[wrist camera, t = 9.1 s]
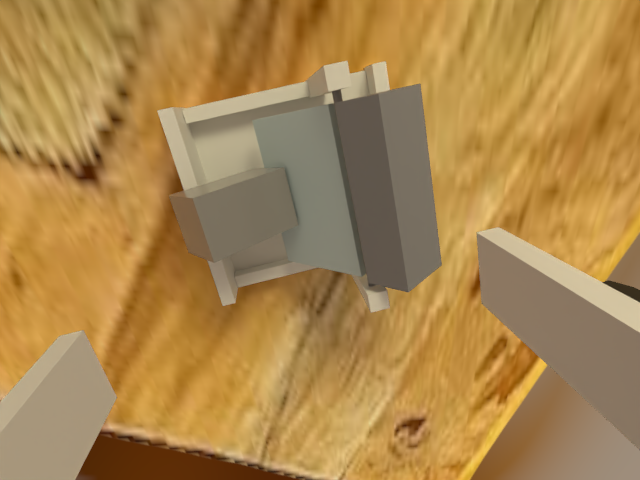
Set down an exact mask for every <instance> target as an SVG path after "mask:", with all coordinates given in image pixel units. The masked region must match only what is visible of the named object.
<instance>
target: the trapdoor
mask: <svg viewBox="0 0 640 480" xmlns="http://www.w3.org/2000/svg"><path fill="white" fill-rule="evenodd" d="M335 107H336V111H335ZM336 112H337V116H336ZM337 118H338V122H337ZM252 122H253V126H254V130H255V133H256V137H257V141H258V145H259V149H260V153H261V156H262V160H263V164H264V168H280V167H284V169H285V173H286V177H287V181H288V185H289V189H290V193H291V197H292V201H293V205H294V209H295V213H296V217H297V221H298V226H295V227H293V228H291V229H289V230H286V231H284V232H282V237H283V241H284V245H285V249H286V253H287V257H288V260H289V261H292V262H296V263H301V264H305V265H310V266H314V267H319V268H323V269H328V270H332V271H337V272H342V273H346V274H351V275H355V276H360V277H362V276H364V275H365V274H366V271H367V276H368V282H369V283H371V284H375V285H379V286H384V287H388V288H392V289H397V290H401V291H405V292H410V291H411V290H412V289H413V288H414V287H416V286H417V285H418V284H419V283H420V282H422V281H423V280H424V279H425V278H426V277H428V276H429V275H430V274H431V273H433V272H434V271H435V270H436V269H437V268H439V267H440V266H441V265H442V263H441V255H440V246H439V238H438V229H437V221H436V212H435V204H434V195H433V187H432V178H431V170H430V161H429V153H428V144H427V136H426V127H425V119H424V110H423V102H422V93H421V85H420V84H416V85H412V86H407V87H402V88H398V89H393V90H388V91H384V92H379V93H375V94H370V95H366V96H362V97H358V98H354V99H350V100H346V101H341V102H337V103H335V106H334V103H331V104H326V105H321V106H317V107H312V108H307V109H302V110H298V111H293V112H288V113H283V114H279V115H274V116H269V117H264V118H260V119H256V120H252ZM338 123H339V127H338ZM339 128H340V132H339ZM340 134H341V138H340ZM341 139H342V143H341ZM342 144H343V148H342ZM343 149H344V153H343ZM344 155H345V159H344ZM345 160H346V164H345ZM346 165H347V169H346ZM347 171H348V174H347ZM348 176H349V180H348ZM349 181H350V185H349ZM350 186H351V190H350ZM351 192H352V196H351ZM352 197H353V201H352ZM353 202H354V206H353ZM354 208H355V211H354ZM355 213H356V217H355ZM356 218H357V222H356ZM357 223H358V227H357ZM358 229H359V232H358ZM359 234H360V238H359ZM360 239H361V243H360ZM361 245H362V248H361ZM362 250H363V254H362ZM363 255H364V259H363ZM364 261H365V264H364ZM365 266H366V269H365Z"/></svg>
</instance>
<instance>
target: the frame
mask: <svg viewBox="0 0 640 480" xmlns="http://www.w3.org/2000/svg"><path fill="white" fill-rule="evenodd" d="M388 90H390V88H389V81H388V74H387V67H386V61H384V62H380V63H375V64H371V65H369V66H367V67H365V68H364V71H360V72H356V73H351V74H350V73H349V67H348V62H347V61H343V62H339V63H334V64H330V65H325V66H323V67H322V68H320V69H319V70H318V71H317V72H315V73H314V74H313V75H312V76H311V77H309V78H308V79H307V80H306V81H305V82H302V83H297V84H293V85H288V86H284V87H279V88H275V89H270V90H266V91H261V92H257V93H252V94H248V95H244V96H239V97H235V98H230V99H226V100H221V101H217V102H212V103H208V104H203V105H199V106H194V107H190V108H179V107H171V108H167V109H162V110H158V111H157V112H158V115H159V118H160V121H161V124H162V127H163V130H164V132H165V135H166V138H167V141H168V144H169V147H170V150H171V153H172V156H173V159H174V162H175V165H176V168H177V171H178V174H179V177H180V180H181V183H182V186H183V189H184V190H187V189H190V188H193V187H196V186H199V185H203V184H206V183H209V182H212V181H215V180H218V179H221V178H224V177H227V176H231V175H234V174H237V173H240V172H243V171H246V170H249V169H252V168H264V164H263V160H262V156H261V153H260V149H259V145H258V141H257V137H256V133H255V130H254V126H253V122H252V120H256V119H260V118H264V117H269V116H274V115H279V114H283V113H288V112H293V111H298V110H302V109H307V108H312V107H317V106H321V105H326V104H331V103H334V106H335V103H337V102H341V101H346V100H350V99H354V98H358V97H362V96H366V95H370V94H375V93H379V92H384V91H388ZM335 111H336V107H335ZM336 116H337V112H336ZM337 122H338V118H337ZM338 127H339V123H338ZM339 132H340V128H339ZM340 138H341V134H340ZM341 143H342V139H341ZM342 148H343V144H342ZM343 153H344V149H343ZM344 159H345V155H344ZM345 164H346V160H345ZM346 169H347V165H346ZM347 174H348V171H347ZM348 180H349V176H348ZM349 185H350V181H349ZM350 190H351V186H350ZM351 196H352V192H351ZM352 201H353V197H352ZM353 206H354V202H353ZM354 211H355V208H354ZM355 217H356V213H355ZM356 222H357V218H356ZM357 227H358V223H357ZM358 232H359V229H358ZM359 238H360V234H359ZM360 243H361V239H360ZM361 248H362V245H361ZM362 254H363V250H362ZM363 259H364V255H363ZM207 261H208V260H207ZM208 264H209V267H210V270H211V273H212V276H213V279H214V282H215V285H216V288H217V291H218V293H219V296H220V299H221V302H222V305H223V306H225V305H229V304H233V303H236V297H237V291H238V287H242V286H246V285H250V284H254V283H259V282H263V281H267V280H271V279H275V278H279V277H283V276H287V275H291V274H295V273H299V272H303V271H307V270H311V269H315V268H319V267H314V266H310V265H305V264H301V263H296V262H292V261H289V260H288V257H287V253H286V249H285V245H284V241H283V237H282V233H280V234H278V235H275V236H273V237H271V238H269V239H266V240H264V241H262V242H260V243H258V244H255V245H253V246H251V247H249V248H246V249H244V250H242V251H240V252H238V253H235V254H233V255H231V256H229V257H227V258H224V259H222V260H220V261H218V262H215V263H213V262H210V261H208ZM364 264H365V261H364ZM365 269H366V266H365ZM352 277H353V279H354V281H355V283H356V284H357V286H358V288H359V290H360V292H361V294H362V296H363V298H364V300H365V302H366V304H367V306H368V308H369V310H370V312H371V313H372V312H376V311H379V310H383V309H387V308H390V305H389V299H388V293H387V290H386V288H385V287H384V286H379V285H375V284H371V283H369V282H368V276H367V271H366V274H365V275H364V276H362V277H360V276H355V275H352Z"/></svg>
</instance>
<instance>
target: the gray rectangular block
mask: <svg viewBox="0 0 640 480" xmlns="http://www.w3.org/2000/svg"><path fill="white" fill-rule="evenodd" d="M169 198H170V201H171V204H172V207H173V209H174V212H175V215H176V218H177V221H178V223H179V226H180V229H181V232H182V235H183V238H184V240H185V243H186V246H187V249H188V252H189V253H191V254H193V255H196V256H198V257H201V258H203V259H206V260H208V261H210V262H213V263H215V262H218V261H220V260H222V259H224V258H227V257H229V256H231V255H233V254H235V253H238V252H240V251H242V250H244V249H246V248H249V247H251V246H253V245H255V244H258V243H260V242H262V241H264V240H266V239H269V238H271V237H273V236H275V235H278V234H280V233H282V232H284V231H286V230H289V229H291V228H293V227H295V226H298V221H297V217H296V213H295V209H294V205H293V201H292V197H291V193H290V189H289V185H288V181H287V177H286V173H285V169H284V167H280V168H252V169H249V170H246V171H243V172H240V173H237V174H234V175H231V176H227V177H224V178H221V179H218V180H215V181H212V182H209V183H206V184H203V185H199V186H196V187H193V188H190V189H187V190H184V191H181V192H178V193H174V194H171V195H169Z"/></svg>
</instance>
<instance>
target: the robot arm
mask: <svg viewBox="0 0 640 480" xmlns="http://www.w3.org/2000/svg"><path fill="white" fill-rule="evenodd" d="M477 245H478V259H479V272H480V286H481V300H482V304H483V305H484V306H485V307H486V308H487V309H488V310H489V311H490V312H492V313H493V314H494V315H495V316H496V317H497V318H498V319H499V320H500V321H501V322H502V323H503V324H504V325H506V326H507V327H508V328H509V329H510V330H511V331H512V332H513V333H514V334H515V335H516V336H517V337H518V338H520V339H521V340H522V341H523V342H524V343H525V344H526V345H527V346H528V347H529V348H530V349H531V350H532V351H533V352H535V353H536V354H537V355H538V356H539V357H540V358H541V359H542V360H543V361H544V362H545V363H546V364H547V365H549V366H550V367H551V368H552V369H553V370H554V371H555V372H556V373H557V374H558V375H559V376H561V377H562V378H563V379H564V380H565V381H566V382H567V383H568V384H569V385H570V386H571V387H572V388H573V389H574V390H575V391H577V392H578V393H579V394H580V395H581V396H582V397H583V398H584V399H585V400H586V401H587V402H588V403H589V404H590V405H592V406H593V407H594V408H595V409H596V410H597V411H598V412H599V413H600V414H601V415H602V416H603V417H604V418H606V419H607V420H608V421H609V422H610V423H611V424H612V425H613V426H614V427H615V428H617V429H618V431H620V432H621V433H622V434H623V435H624V436H625V437H626V438H627V439H628V440H629V441H631V443H632V444H634V445H635V446H636V447H637V448H638V449H639V450H640V290H638V289H636V288H634V287H630V286H627V285H623V284H620V283H616V282H612V281H605V282H600V281H598V280H597V279H595V278H593V277H591V276H589V275H587V274H585V273H583V272H582V271H580V270H578V269H576V268H574V267H572V266H570V265H568V264H567V263H565V262H563V261H561V260H559V259H557V258H555V257H554V256H552V255H550V254H548V253H546V252H544V251H542V250H540V249H539V248H537V247H535V246H533V245H531V244H529V243H527V242H525V241H524V240H522V239H520V238H518V237H516V236H514V235H512V234H510V233H509V232H507V231H505V230H503V229H501V228H499V227H497V228H493V229H489V230H485V231H481V232H477ZM116 398H117V397H116V395H115V393H114V391H113V388H112V386H111V384H110V382H109V380H108V378H107V376H106V374H105V372H104V370H103V368H102V366H101V364H100V362H99V360H98V358H97V356H96V354H95V352H94V350H93V348H92V346H91V344H90V342H89V340H88V338H87V336H86V334H85V332H84V330H82V331H78V332H74V333H70V334H66V335H62V336H59V337H58V338H57V339H56V340H55V341H54V343H53V344H52V345H51V346H50V347H49V348H48V349H47V350H46V352H45V353H44V354H43V355H42V356H41V357H40V358H39V359H38V360H37V362H36V363H35V364H34V365H33V366H32V367H31V368H30V369H29V371H28V372H27V373H26V374H25V375H24V376H23V377H22V378H21V380H20V381H19V382H18V383H17V384H16V385H15V386H14V387H13V388H12V390H11V391H10V392H9V393H8V394H7V395H6V396H5V397H4V399H3V400H2V401H1V402H0V480H75V479H76V477H77V475H78V473H79V471H80V469H81V467H82V465H83V463H84V461H85V459H86V457H87V455H88V453H89V451H90V449H91V447H92V445H93V444H94V442H95V440H96V438H97V436H98V434H99V432H100V430H101V428H102V426H103V424H104V422H105V420H106V418H107V416H108V414H109V412H110V410H111V408H112V406H113V404H114V402H115V400H116Z"/></svg>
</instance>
